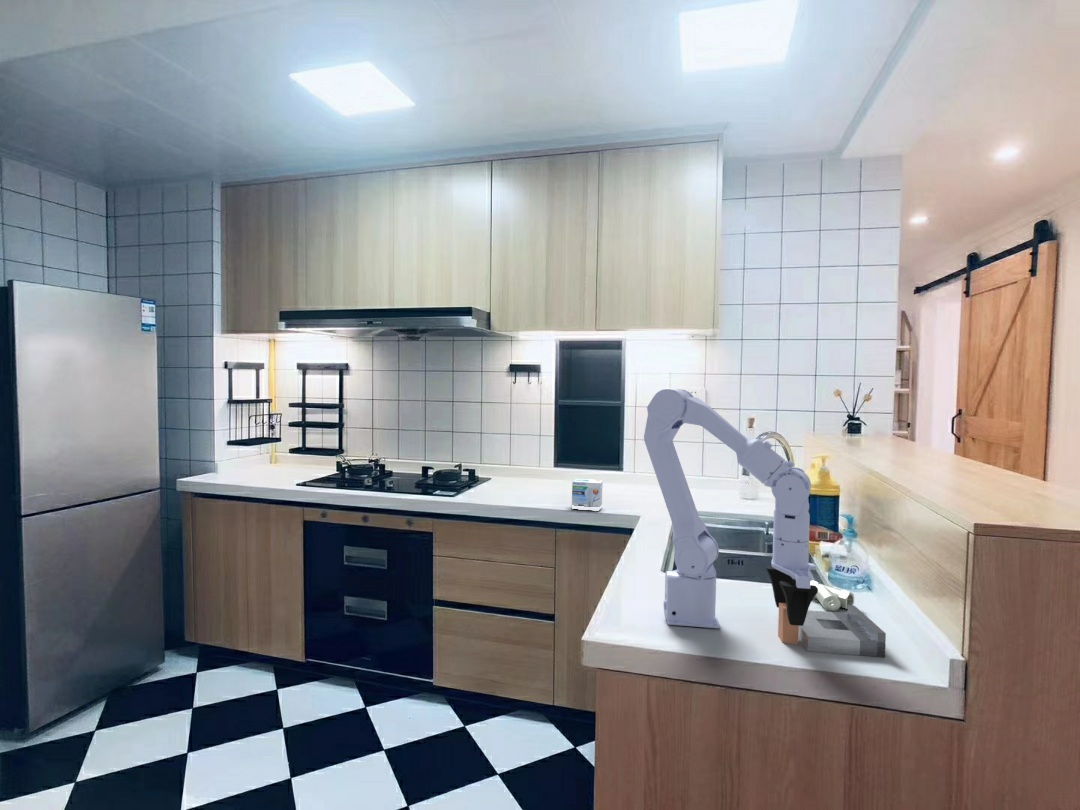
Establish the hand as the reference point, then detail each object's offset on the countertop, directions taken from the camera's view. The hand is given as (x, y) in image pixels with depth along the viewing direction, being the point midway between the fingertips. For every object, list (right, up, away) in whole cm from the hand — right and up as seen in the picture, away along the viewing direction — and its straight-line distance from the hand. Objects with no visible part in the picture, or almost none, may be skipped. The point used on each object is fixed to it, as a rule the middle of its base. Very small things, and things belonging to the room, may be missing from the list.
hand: (789, 615), depth 96 cm
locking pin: (0, -4, 0) cm, 4 cm away
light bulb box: (-26, -2, +107) cm, 110 cm away
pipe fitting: (+15, -5, +17) cm, 23 cm away
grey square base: (+8, -4, +1) cm, 9 cm away
